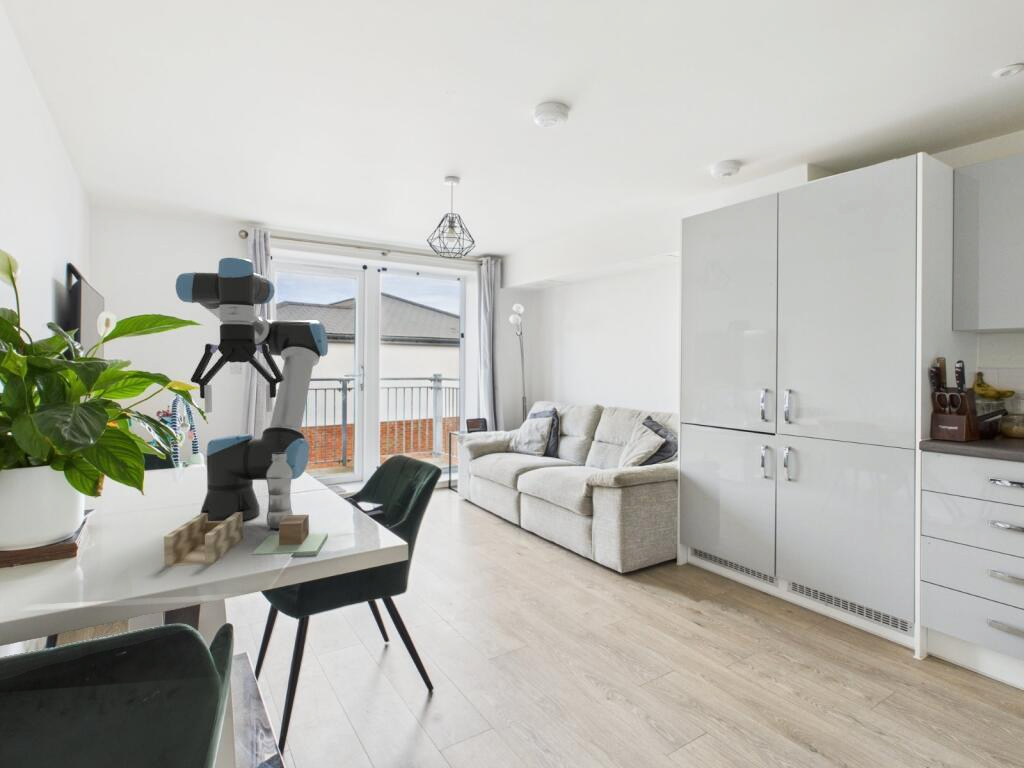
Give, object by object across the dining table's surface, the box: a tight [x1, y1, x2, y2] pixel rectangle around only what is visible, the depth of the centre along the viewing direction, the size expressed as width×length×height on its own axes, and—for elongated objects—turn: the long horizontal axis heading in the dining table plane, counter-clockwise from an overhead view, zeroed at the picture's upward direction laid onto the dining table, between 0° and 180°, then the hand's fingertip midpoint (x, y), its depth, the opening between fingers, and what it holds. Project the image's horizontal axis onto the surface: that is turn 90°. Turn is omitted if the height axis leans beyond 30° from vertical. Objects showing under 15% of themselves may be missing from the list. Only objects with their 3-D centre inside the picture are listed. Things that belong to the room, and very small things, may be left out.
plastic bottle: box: [266, 452, 294, 530], centre depth 147 cm, size 6×7×20 cm
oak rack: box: [163, 512, 244, 567], centre depth 126 cm, size 19×10×7 cm, turn 9°
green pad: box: [251, 532, 329, 557], centre depth 131 cm, size 14×14×1 cm
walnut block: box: [278, 514, 310, 545], centre depth 134 cm, size 8×5×5 cm, turn 8°
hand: (239, 411), depth 134 cm, fingers open, 13 cm apart
